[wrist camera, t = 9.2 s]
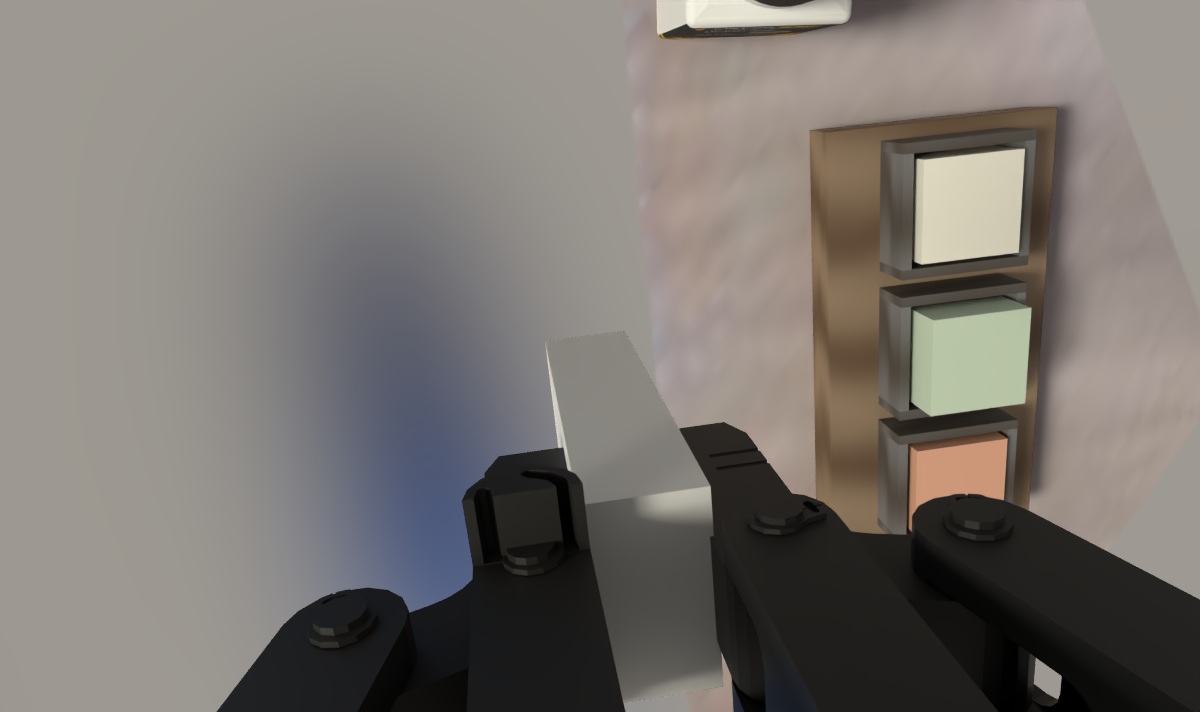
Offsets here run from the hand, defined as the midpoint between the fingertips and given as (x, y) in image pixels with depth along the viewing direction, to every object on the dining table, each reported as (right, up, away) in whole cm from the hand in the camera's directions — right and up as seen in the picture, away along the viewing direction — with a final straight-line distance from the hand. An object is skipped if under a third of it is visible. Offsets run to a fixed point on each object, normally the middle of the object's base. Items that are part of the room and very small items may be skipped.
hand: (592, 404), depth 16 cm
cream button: (+18, +9, +26) cm, 33 cm away
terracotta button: (+19, -5, +31) cm, 37 cm away
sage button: (+19, +1, +27) cm, 33 cm away
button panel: (+18, +3, +31) cm, 36 cm away
